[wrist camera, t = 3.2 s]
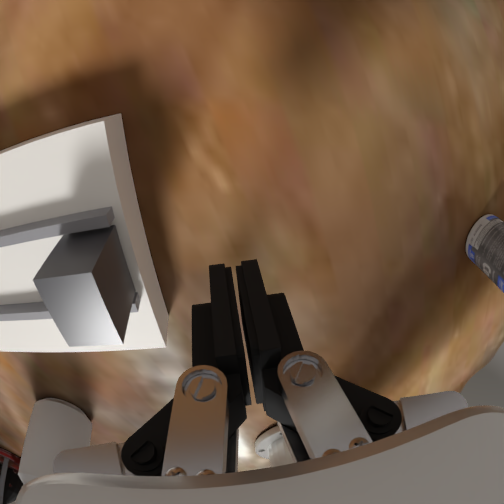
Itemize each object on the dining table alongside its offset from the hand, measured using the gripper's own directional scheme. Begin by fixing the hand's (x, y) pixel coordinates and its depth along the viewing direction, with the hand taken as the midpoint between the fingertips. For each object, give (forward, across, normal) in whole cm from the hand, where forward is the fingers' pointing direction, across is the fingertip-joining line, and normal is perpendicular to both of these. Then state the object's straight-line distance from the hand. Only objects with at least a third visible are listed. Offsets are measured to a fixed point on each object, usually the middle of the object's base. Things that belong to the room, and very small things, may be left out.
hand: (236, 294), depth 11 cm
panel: (+8, +20, +1) cm, 21 cm away
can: (+8, +22, +22) cm, 32 cm away
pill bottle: (+8, -22, +5) cm, 24 cm away
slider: (+5, +7, +1) cm, 8 cm away
